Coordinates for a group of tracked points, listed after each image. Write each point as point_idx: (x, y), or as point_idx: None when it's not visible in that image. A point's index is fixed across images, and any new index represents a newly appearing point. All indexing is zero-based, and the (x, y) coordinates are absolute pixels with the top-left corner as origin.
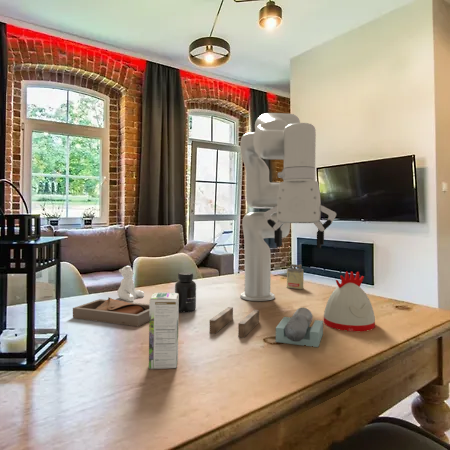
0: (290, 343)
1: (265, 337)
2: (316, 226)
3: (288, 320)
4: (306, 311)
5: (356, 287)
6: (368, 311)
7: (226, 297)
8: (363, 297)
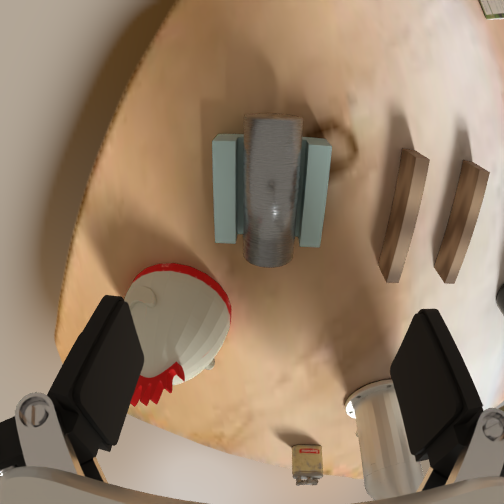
0: None
1: (354, 163)
2: (66, 445)
3: (305, 218)
4: (255, 241)
5: None
6: None
7: None
8: None
